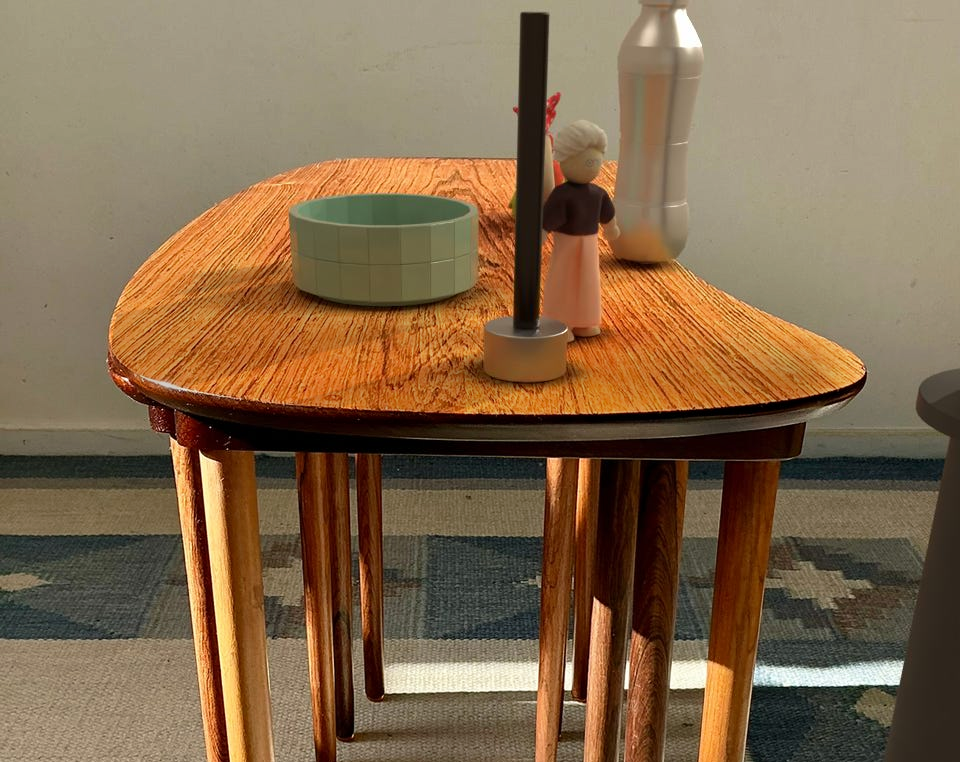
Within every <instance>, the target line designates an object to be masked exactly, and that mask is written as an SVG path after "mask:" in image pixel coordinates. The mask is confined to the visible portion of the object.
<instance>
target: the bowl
mask: <svg viewBox="0 0 960 762" xmlns="http://www.w3.org/2000/svg"><path fill="white" fill-rule="evenodd" d="M479 221H480V212H479V209H478V206H476V205H475V204H473V203H470V202H468V201H466V200H463V199H462V200H461V199H457V198H453V197H448V196H439V195H432V194H424V193H423V194H422V193H421V194H420V193H405V192H404V193H403V192H398V193H397V192H367V193H349V194H347V193H346V194H337V195H329V196H320V197H316V198H312V199H308V200H303V201H300V202H298V203H295V204H294V205H291V206H290V208H289V210H288V226H289V240H290V241H289V242H290V254H291V255H290V257H291V272H292V283H293V284H294V286H295V287H297V288H298V289H299V290H300V291H302V292H306V293H309V294H312V295H315V296H316V297H319V298H321V299H324V300H326V301H330V302H334V303H339V304H345V305H352V306H363V307H366V306H367V307H405V306H416V305H423V304H424V305H425V304H430V303H431V304H432V303H436V302H439V301H443V300H447V299H449V298H452V297H453V296H456V295H457V294H460V293H463V292H466V291H468V290H471V289H472V288H473V287H474V286H476V284H478V282H479V238H480V237H479V236H480V235H479V231H480V228H479V227H480V223H479Z"/></svg>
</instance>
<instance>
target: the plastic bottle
mask: <svg viewBox="0 0 960 762" xmlns="http://www.w3.org/2000/svg"><path fill="white" fill-rule="evenodd" d="M637 4H638V5H641V10H640V14H639V16H638V17H637V19H636V20H635V21H634V22H633V24H632V26H631V27H630V28H629V30H628V32H627V33H626V35H625V37H624V38H623V40H622V42H621V43H620V47H619V50H618V53H617V58H616V60H617V61H616V62H617V64H616V65H617V66H616V68H617V72H618V74H617V85H618V99H619V100H618V101H619V133H620V138H619V152H618V159H617V168H616V175H615V182H614V189H613V198H612V199H611V201H612V203H613V205H614V208H615V217H616V225H617V227H618V228H619V231H620V234H619V237H618V238H617V239H616V240H613V241H608V240H607V244H608V247H609V248H610V250H611V252H612V255H614V256H615V257H617V258H620V259H624V260H628V261H630V262H635V263H639V264H645V265H646V264H647V265H648V264H653V263H654V264H655V263H661V262H665V261H671V260H675V259H677V258H678V257H680V255H681V254H682V252H683V251H684V249H685V248H686V244H687V241H688V236H689V233H690V232H689V231H690V209H689V202H688V199H687V197H688V157H689V156H688V155H689V153H688V152H689V146H690V140H689V139H690V135H691V132H692V124H693V115H694V112H695V111H694V110H695V105H696V101H697V96H698V92H699V88H700V87H699V86H700V83H701V77H702V76H701V73H702V72H703V66H704V60H705V56H704V50H703V44H702V42H701V40H700V37H699V36H698V34H697V31H696V29H695V27H694V25H693V24H692V22H691V20H690V19H689V16H688V15H687V14H688V13H687V6H688V5H691V4H692V0H637Z"/></svg>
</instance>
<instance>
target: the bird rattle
mask: <svg viewBox="0 0 960 762" xmlns="http://www.w3.org/2000/svg"><path fill="white" fill-rule="evenodd" d="M562 97H563V95H562V93H561V92H560V91H558V92H556V93H554V94H553V95H551V96H550V97H548V98H547V107H546V137H545V166H544V196H543V206H544V204H545V202H546V200H547V199H548V197H549V195H550V194H551V192H552V191H553V189H554V188H555V186H558V185H560V184H562V183H564V182H566V181H567V179H566V178H565V177H564V176H563V174H562V172H561V169H560V164H559V162H557V161H556V160H555V159H554V158H553V154H554V152H555V151H554V150H553V143H554V141H555V139H554V136H553V134H552V133H551V132H550V131H549V128H550V127H551V125H552V124H553V122H554V120H555V118H556V116H557V110H556V109H555V108H556V107H557V106H558V104H559V102H560V101H561V98H562ZM512 111H513V113H515V114H516V115H517V117H518V106H513V107H512ZM507 207H508V209H510V210H511V212H512V213H511V214H512V216H513V217H514V218H515V214H516V190H515V191H514V193H513V195H512V197H511V199H510V201H509V203H508V206H507Z"/></svg>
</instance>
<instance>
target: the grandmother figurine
mask: <svg viewBox="0 0 960 762" xmlns="http://www.w3.org/2000/svg"><path fill="white" fill-rule="evenodd" d="M608 144H609V140H608V136H607V134H606V133H605V130H604V129H602V128H600V127H599V125H597V124H595V123H593V122H590V121H588V120H587V119H579V120H575V121H574V122H571V123H568V124H567V125H566V126H564V127H563V128H562V129H561V130H559V131H557V133H556V137H555V139H554V143H553V150H554V151H553V160H554V161H556V162H557V163H558V164H559V165H560V169H561V172H562V174H563V176H564V177H565V178H566V179H567V181H566V182H564V183H562V184H560V185H558V186H555V188H554V189H553V191H552V192H551V194H550V195H549V197H548V199H547V200H546V202H545V204H544V206H543V226H542V246H544V245H545V244H546V242H547V240H548V238H549V235H550V234H551V233H552V243H553V244H552V248H551V251H550V257H549V260H548V266H547V270H546V274H545V277H544V283H543V295H542V296H543V297H542V309H541V310H542V311H541V317H547V318H552V319H556V320H558V321H561V322H563V323H565V324H566V325H567V327H568V339H567V343H572V342H573V341H575V336H577V337H584V338H585V337H586V338H587V337H593V336H597V335H600V334H601V328H600V325H602V315H603V314H602V310H603V308H602V306H603V305H602V287H601V285H602V284H601V274H600V254H599V241H598V238H599V237H598V236H599V230H600V229H599V228H600V227H601V229H602V234H603V238H604V239H605V240H606V241H607V242H608V241H613V240H616V239H617V238H618V237H619V234H620V231H619V228H618V227H617V225H616V217H615V208H614V205H613V203H612V199H611V197H610V195H609V193H608V191H607V190H606V189H605V188H604V187H601V186H599V185H598V184H596V183H593V181H594V180H595V179H597V177H599V174H600V172H601V171H602V167H603V158H604V157H605V154H606V153H607V151H608ZM599 225H600V227H599Z"/></svg>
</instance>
